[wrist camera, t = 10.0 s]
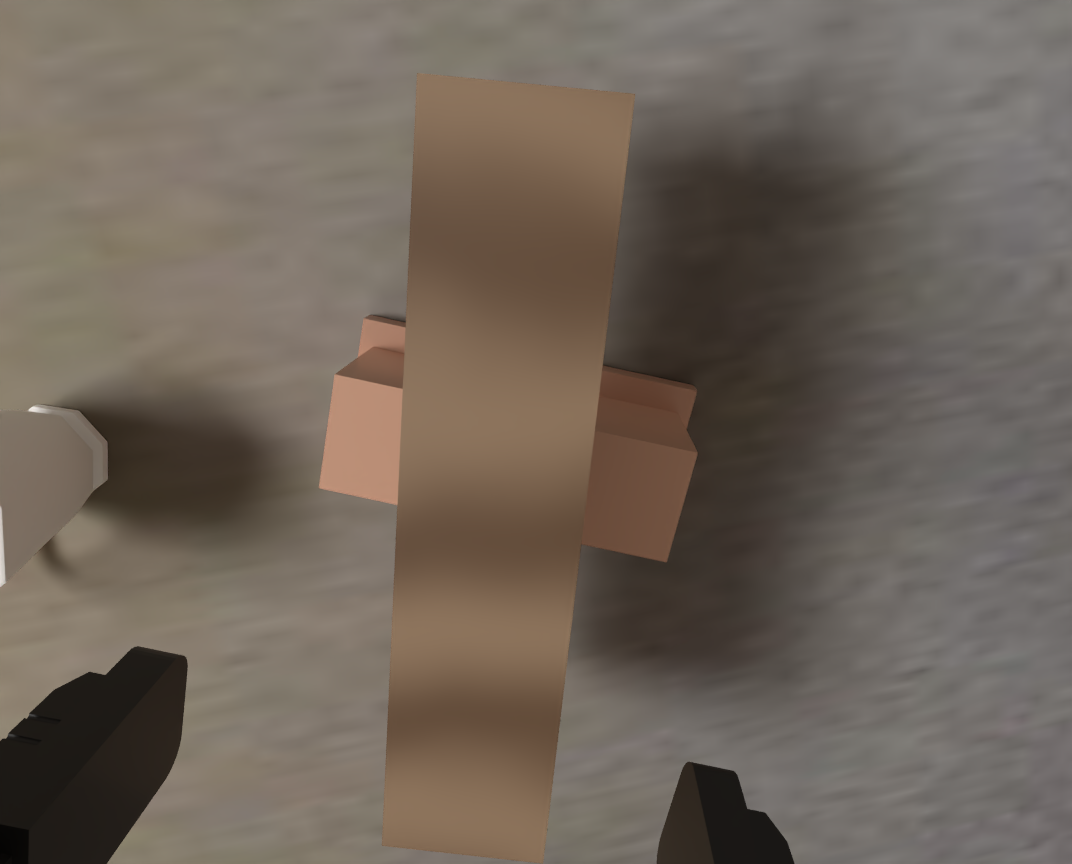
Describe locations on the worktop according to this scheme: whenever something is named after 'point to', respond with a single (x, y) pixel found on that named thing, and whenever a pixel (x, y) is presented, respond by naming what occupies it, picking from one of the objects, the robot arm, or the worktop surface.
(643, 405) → the ridge
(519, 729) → the walnut bar
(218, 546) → the worktop surface
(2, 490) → the cup
